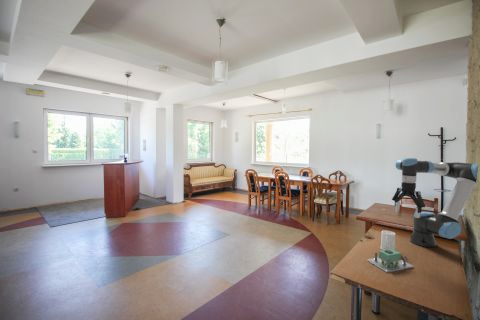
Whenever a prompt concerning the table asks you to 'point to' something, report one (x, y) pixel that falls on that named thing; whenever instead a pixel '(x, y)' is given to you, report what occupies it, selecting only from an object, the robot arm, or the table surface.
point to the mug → (387, 240)
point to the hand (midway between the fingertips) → (407, 214)
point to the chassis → (390, 264)
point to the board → (390, 255)
